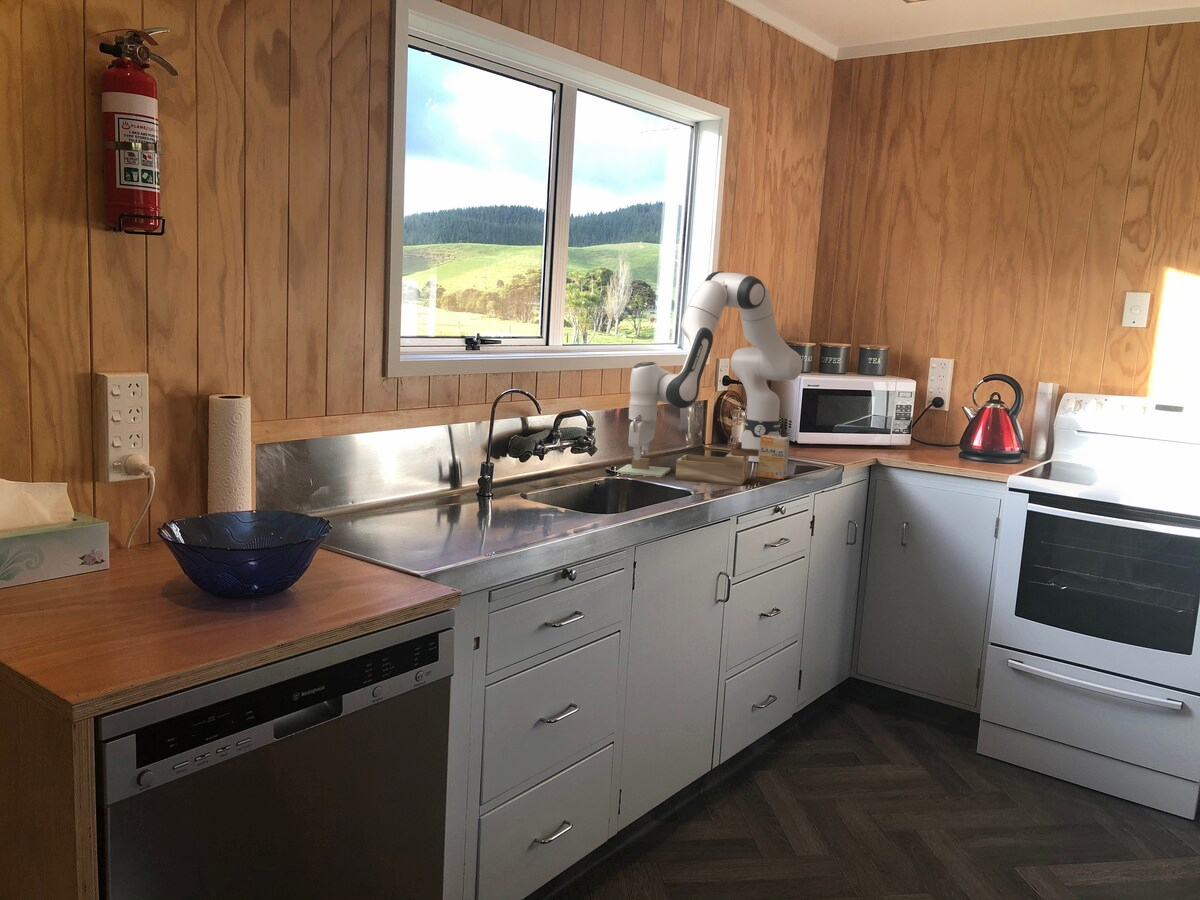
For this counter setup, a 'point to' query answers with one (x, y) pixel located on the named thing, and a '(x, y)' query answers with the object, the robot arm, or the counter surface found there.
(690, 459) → the toolbox
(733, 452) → the brown stepped wooden block
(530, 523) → the counter surface
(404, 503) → the counter surface
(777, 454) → the supplement box
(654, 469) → the lid
